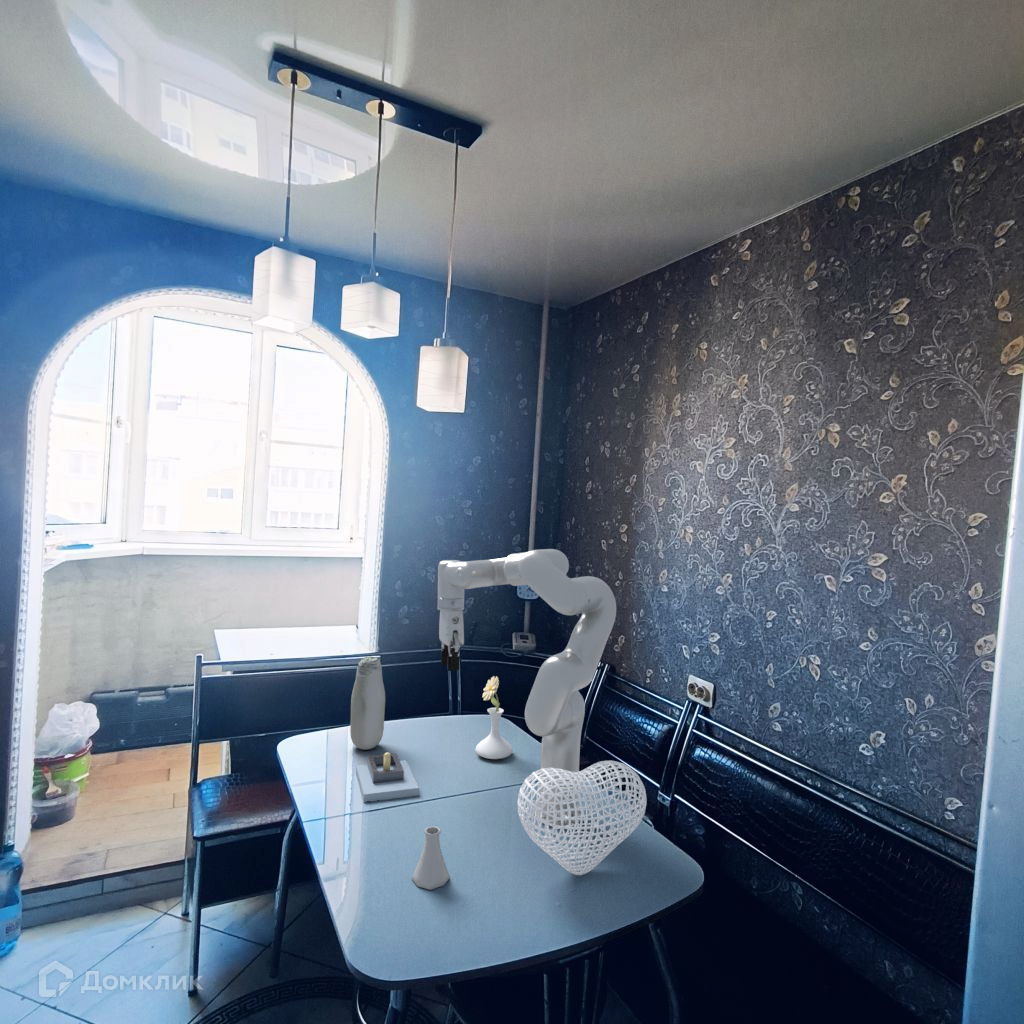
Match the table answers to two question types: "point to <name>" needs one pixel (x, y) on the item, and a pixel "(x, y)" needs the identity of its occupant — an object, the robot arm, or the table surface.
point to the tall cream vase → (367, 704)
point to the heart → (581, 778)
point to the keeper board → (386, 783)
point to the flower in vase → (493, 727)
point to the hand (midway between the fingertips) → (449, 666)
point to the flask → (431, 862)
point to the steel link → (387, 774)
